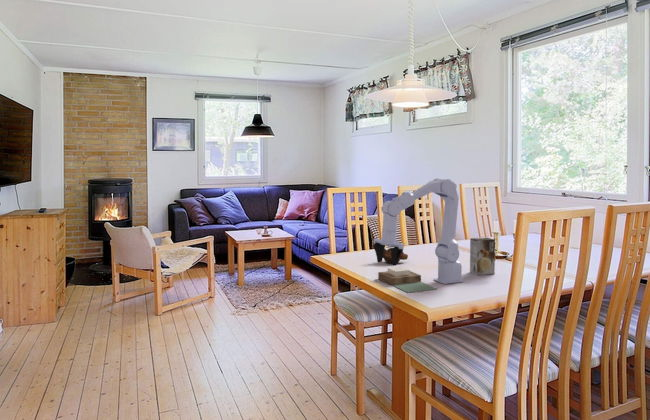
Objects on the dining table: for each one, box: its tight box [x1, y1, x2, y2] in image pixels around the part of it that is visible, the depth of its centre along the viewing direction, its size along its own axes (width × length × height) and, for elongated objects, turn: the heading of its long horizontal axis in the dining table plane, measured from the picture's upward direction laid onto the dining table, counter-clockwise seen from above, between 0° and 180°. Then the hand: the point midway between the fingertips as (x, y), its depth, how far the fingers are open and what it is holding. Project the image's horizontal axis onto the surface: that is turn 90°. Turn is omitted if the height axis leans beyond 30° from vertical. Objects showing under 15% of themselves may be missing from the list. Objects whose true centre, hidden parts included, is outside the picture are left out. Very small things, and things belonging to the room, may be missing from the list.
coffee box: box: [469, 237, 496, 276], centre depth 214 cm, size 9×6×16 cm
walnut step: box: [377, 270, 422, 286], centre depth 201 cm, size 14×12×3 cm
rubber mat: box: [391, 281, 438, 294], centre depth 191 cm, size 14×12×1 cm
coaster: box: [387, 266, 411, 276], centre depth 202 cm, size 7×7×2 cm
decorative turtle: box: [383, 247, 409, 265], centre depth 238 cm, size 10×15×8 cm, turn 99°
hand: (386, 263), depth 190 cm, fingers open, 7 cm apart
